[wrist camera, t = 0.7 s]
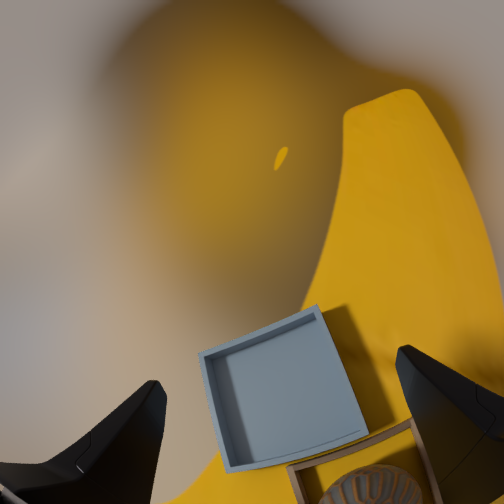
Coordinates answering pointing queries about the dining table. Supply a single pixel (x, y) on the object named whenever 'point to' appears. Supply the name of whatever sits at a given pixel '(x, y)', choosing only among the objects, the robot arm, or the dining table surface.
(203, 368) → the slate tray
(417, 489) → the vase
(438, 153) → the dining table surface
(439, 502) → the walnut frame
